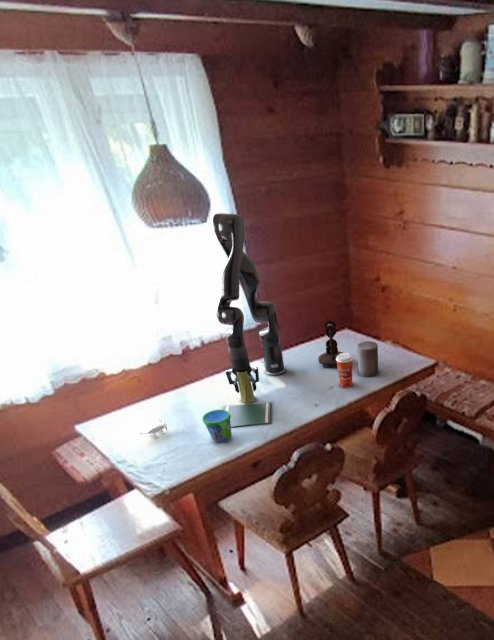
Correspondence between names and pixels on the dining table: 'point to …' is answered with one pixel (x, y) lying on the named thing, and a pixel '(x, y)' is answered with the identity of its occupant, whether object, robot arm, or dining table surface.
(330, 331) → the dark brown sculpture
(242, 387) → the vase
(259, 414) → the green board
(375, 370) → the pillar candle
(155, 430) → the grey animal figurine
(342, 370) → the paper cup
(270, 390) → the dining table surface
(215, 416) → the snack cup
